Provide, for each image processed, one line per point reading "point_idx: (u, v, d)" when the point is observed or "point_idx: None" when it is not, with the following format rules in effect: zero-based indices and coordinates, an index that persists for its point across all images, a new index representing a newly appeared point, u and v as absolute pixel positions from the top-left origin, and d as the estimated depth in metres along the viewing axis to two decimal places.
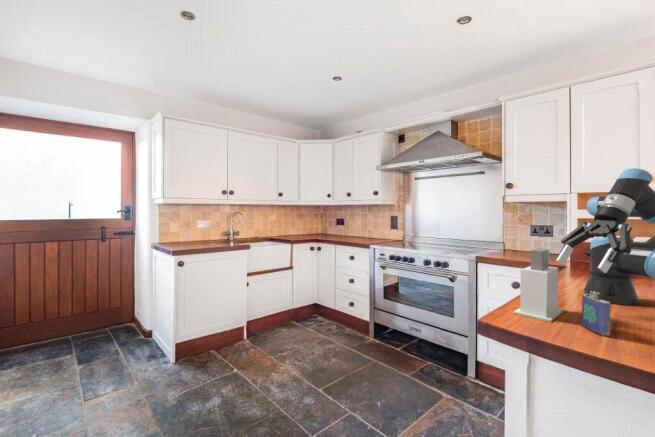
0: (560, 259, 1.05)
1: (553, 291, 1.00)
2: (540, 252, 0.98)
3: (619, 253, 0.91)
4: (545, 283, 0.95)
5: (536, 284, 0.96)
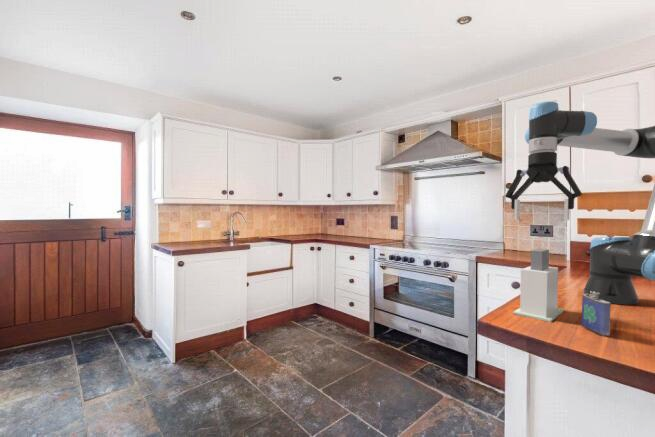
0: (517, 216, 1.05)
1: (553, 291, 1.00)
2: (540, 252, 0.98)
3: (573, 199, 0.95)
4: (545, 283, 0.95)
5: (536, 284, 0.96)
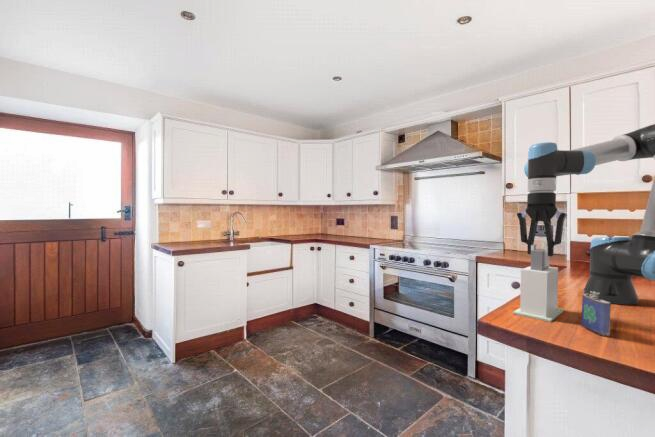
0: None
1: (553, 291, 1.00)
2: (540, 252, 0.98)
3: (553, 246, 0.99)
4: (545, 283, 0.95)
5: (536, 284, 0.96)
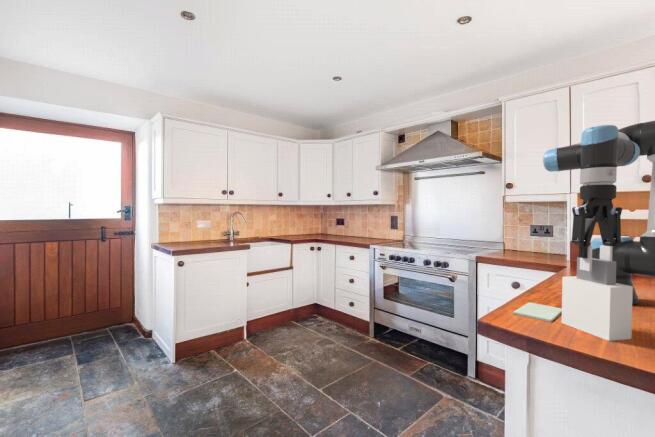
0: None
1: None
2: (615, 262, 0.82)
3: None
4: (631, 299, 0.80)
5: (623, 302, 0.80)
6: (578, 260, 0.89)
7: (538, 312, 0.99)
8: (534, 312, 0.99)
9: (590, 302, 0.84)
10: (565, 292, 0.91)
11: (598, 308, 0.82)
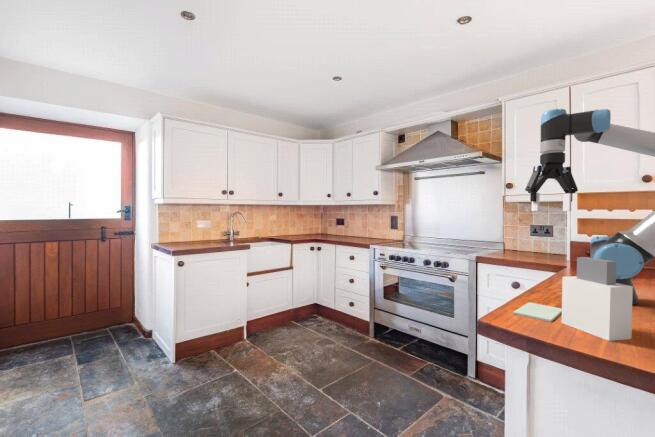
0: None
1: None
2: (615, 262, 0.82)
3: None
4: (631, 299, 0.80)
5: (623, 302, 0.80)
6: (578, 260, 0.89)
7: (538, 312, 0.99)
8: (534, 312, 0.99)
9: (590, 302, 0.84)
10: (565, 292, 0.91)
11: (598, 308, 0.82)
